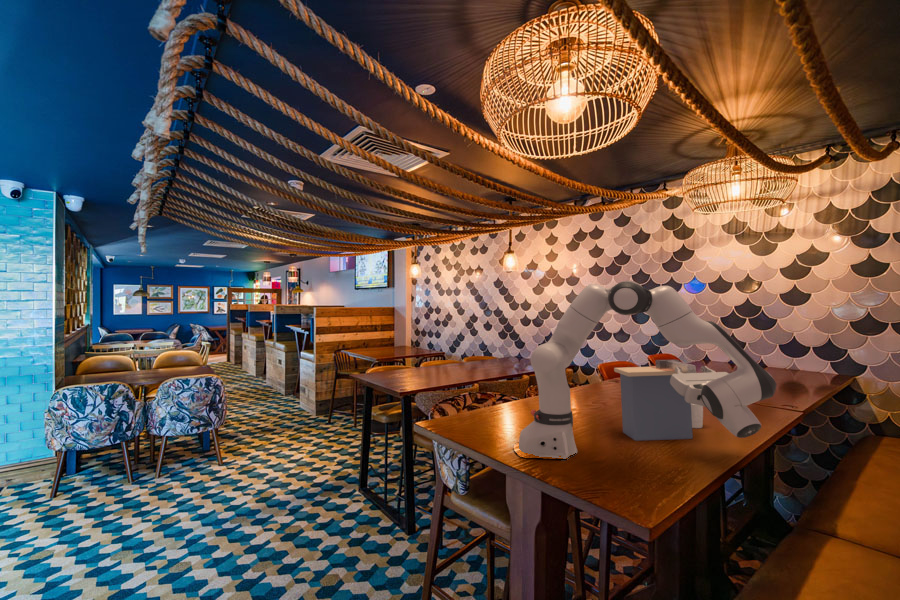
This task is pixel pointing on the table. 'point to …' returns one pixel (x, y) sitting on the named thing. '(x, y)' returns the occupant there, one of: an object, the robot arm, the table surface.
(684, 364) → the steel T-bar
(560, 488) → the table surface
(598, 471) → the table surface
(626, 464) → the table surface
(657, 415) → the wood-topped grey cube
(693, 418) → the white cup
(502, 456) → the table surface
